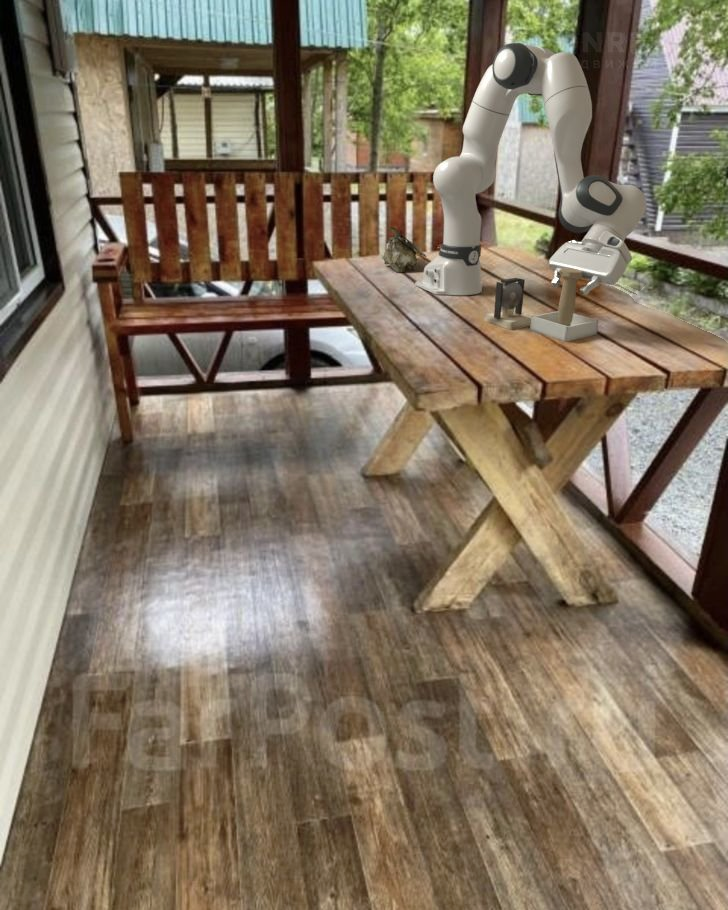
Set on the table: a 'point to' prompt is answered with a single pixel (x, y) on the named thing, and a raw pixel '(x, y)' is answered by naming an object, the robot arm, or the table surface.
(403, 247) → the hollow geode rock
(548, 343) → the table surface
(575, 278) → the handle
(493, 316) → the pulley block
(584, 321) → the tray
